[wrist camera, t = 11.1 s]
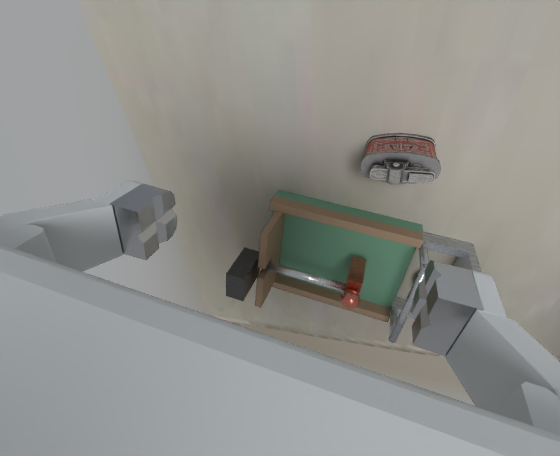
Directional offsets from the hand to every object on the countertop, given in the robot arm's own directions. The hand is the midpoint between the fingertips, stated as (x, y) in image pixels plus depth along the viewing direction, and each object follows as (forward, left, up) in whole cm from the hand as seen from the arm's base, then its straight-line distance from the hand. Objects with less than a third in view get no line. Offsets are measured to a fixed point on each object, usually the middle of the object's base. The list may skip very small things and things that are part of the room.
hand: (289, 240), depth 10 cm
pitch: (-1, +25, -34) cm, 42 cm away
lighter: (-5, +7, -34) cm, 35 cm away
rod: (+3, +25, -31) cm, 40 cm away
